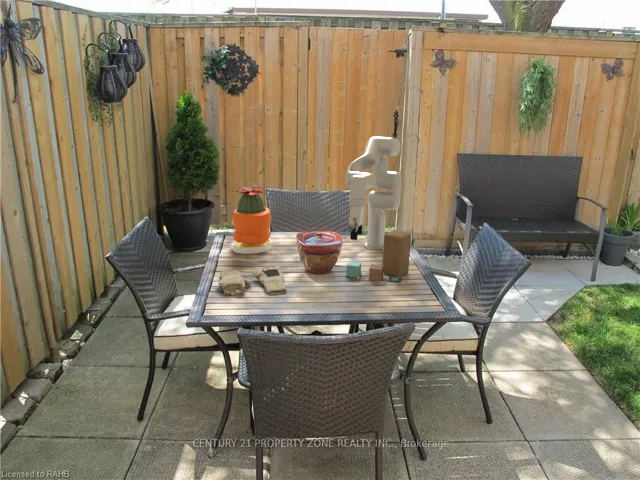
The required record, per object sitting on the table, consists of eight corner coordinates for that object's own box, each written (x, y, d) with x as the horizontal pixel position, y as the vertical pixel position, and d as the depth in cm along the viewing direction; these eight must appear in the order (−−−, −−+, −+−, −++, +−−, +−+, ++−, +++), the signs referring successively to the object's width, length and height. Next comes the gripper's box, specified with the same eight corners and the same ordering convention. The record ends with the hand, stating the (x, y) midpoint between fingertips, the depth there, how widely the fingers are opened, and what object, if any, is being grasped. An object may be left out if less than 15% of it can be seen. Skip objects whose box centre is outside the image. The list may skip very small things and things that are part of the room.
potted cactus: (228, 245, 297) (225, 183, 286) (266, 241, 306) (265, 180, 295) (239, 258, 279) (237, 192, 268) (280, 253, 288) (279, 188, 277)
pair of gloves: (282, 273, 262) (282, 262, 260) (287, 294, 238) (287, 283, 236) (219, 275, 257) (218, 265, 255) (218, 298, 233) (217, 286, 231)
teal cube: (348, 272, 263) (349, 260, 261) (360, 273, 262) (361, 262, 260) (346, 276, 258) (346, 265, 256) (358, 278, 256) (359, 266, 254)
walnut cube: (370, 275, 260) (371, 263, 258) (383, 276, 258) (383, 265, 257) (368, 279, 254) (369, 268, 252) (381, 281, 253) (382, 269, 251)
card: (389, 277, 258) (389, 276, 258) (401, 278, 256) (402, 277, 256) (387, 281, 252) (387, 280, 252) (400, 283, 251) (400, 282, 251)
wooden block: (399, 277, 257) (401, 238, 251) (381, 272, 263) (383, 233, 257) (409, 271, 265) (412, 233, 258) (391, 267, 270) (393, 229, 264)
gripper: (354, 197, 259) (352, 231, 264) (345, 204, 243) (343, 241, 248) (369, 198, 257) (367, 233, 262) (361, 206, 241) (359, 242, 246)
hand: (356, 236), depth 255 cm, fingers open, 9 cm apart
